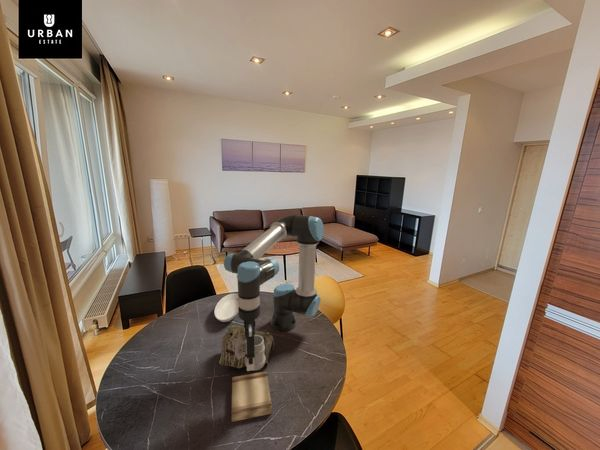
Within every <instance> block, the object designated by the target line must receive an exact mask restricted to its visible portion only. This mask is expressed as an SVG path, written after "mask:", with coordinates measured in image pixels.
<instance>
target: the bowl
mask: <svg viewBox="0 0 600 450" xmlns="http://www.w3.org/2000/svg"><path fill="white" fill-rule="evenodd" d="M236 298H238V293H229V294H227V295H225V296H223V297H222V298H221V299H219V301H218V302H217V304H216V305H215V308H214V316H215V318H216V319H217V320H218V321H220V322H221V323H222V322H223V323H225V322H226V323H227V322H230V321H232V320H233V319H234V318H235V317H236V316H237V315H238V307H239V306H238V301H237V300H236Z"/></svg>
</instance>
